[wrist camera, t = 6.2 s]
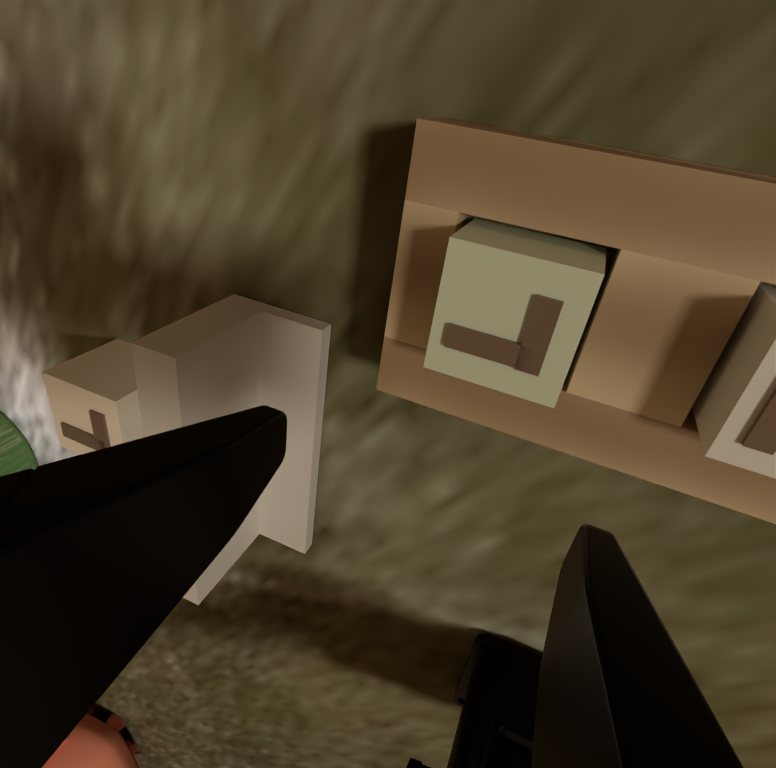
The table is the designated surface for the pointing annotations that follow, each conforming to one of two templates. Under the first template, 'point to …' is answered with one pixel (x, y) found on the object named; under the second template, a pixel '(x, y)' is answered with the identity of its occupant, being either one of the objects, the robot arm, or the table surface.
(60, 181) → the table surface
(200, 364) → the grey screen
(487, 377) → the button
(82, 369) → the letter block
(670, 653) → the robot arm
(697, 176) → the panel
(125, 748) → the pink rounded piece
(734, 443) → the T button
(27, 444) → the ramekin
